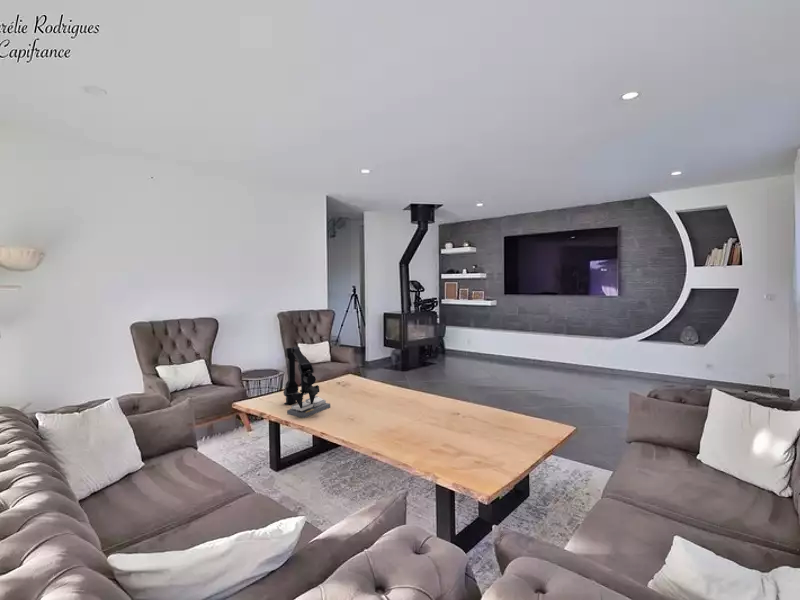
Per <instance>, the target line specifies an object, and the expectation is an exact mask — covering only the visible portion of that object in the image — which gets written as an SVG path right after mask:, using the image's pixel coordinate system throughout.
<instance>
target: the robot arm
mask: <svg viewBox="0 0 800 600" xmlns="http://www.w3.org/2000/svg"><path fill="white" fill-rule="evenodd" d="M284 356H285V358H286V359H287V381H286V383H285V387H284V389H283V396H284V397H285V402H284V405H288V406H292V405H295V404H299V406H300V408H302V402H303V400H304V395H308V396H309V397H308V398H310V402H311V404H313V401H314V398H315V396H318V394H319V393H320V385H319V384H317V385H314V384H315V383H316V376H315V375H313V374H314V367H313V365H312V363H311V362H310V360H309V359H307V358H305V356H304V355H303V352H302V351H301V348H300V346H298V345H297V346H292V347H286V348H285V349H284ZM296 362H297V363H298V366H297V369H298V371H299V374H300V383H299V386H300V390H299V386H298V383H297V382H296Z"/></svg>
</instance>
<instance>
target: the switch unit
mask: <svg viewBox="0 0 800 600" xmlns="http://www.w3.org/2000/svg"><path fill="white" fill-rule="evenodd" d="M330 408H331V403H330V402H329V403H328V402H326V403H324V404H321V405H319V406H316V407H314V406H313V407H311V408H308V409H306V410H303V411H300V410H296V409H292V408H289V409H286V414H287V415H290V416H294V417H297V418H302V419H305V418H309V417H310V416H313V415H315V414H318V413H320V412H323V411H325V410H327V409H330Z"/></svg>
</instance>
